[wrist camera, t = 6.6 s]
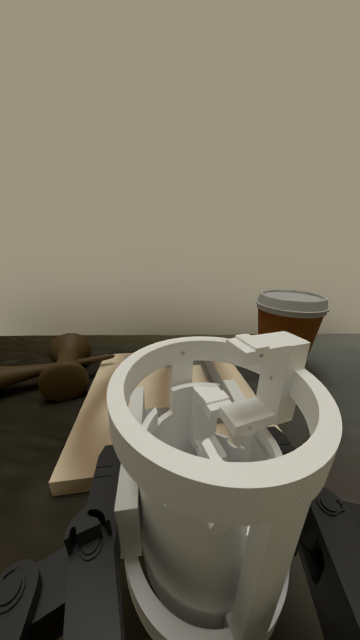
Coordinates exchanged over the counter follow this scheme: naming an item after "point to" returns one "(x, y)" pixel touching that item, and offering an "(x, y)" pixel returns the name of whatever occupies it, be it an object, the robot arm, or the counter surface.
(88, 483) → the locating board
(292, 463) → the white slotted cylindrical housing
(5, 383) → the kendama
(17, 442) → the counter surface
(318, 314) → the disposable coffee cup
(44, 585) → the robot arm
